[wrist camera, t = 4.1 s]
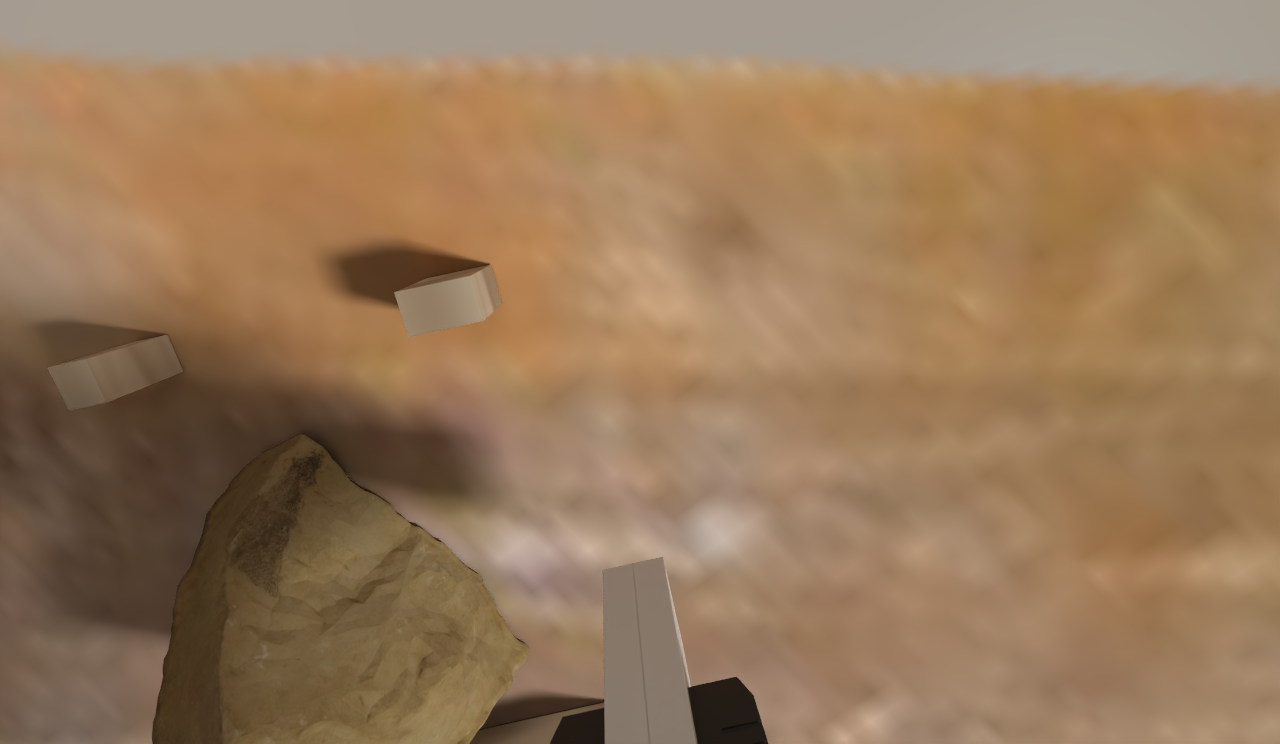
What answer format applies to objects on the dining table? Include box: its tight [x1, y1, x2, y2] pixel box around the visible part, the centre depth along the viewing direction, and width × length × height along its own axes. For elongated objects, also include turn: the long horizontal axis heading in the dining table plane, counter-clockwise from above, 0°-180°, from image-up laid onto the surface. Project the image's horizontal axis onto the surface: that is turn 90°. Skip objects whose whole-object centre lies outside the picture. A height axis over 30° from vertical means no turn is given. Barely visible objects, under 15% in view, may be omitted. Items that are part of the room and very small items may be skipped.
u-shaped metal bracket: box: [47, 264, 604, 744], centre depth 19 cm, size 28×18×3 cm, turn 102°
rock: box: [152, 434, 529, 744], centre depth 18 cm, size 11×9×10 cm
